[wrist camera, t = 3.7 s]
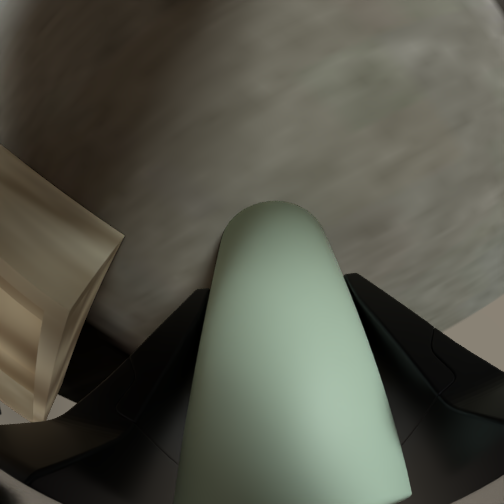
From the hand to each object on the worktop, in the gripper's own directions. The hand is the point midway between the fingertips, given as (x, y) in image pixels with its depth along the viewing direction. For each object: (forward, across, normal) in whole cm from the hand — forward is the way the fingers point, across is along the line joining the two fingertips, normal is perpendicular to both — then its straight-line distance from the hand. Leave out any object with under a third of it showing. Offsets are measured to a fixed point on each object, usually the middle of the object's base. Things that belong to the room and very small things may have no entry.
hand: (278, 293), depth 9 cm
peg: (+2, 0, 0) cm, 2 cm away
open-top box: (+2, +17, -1) cm, 17 cm away
